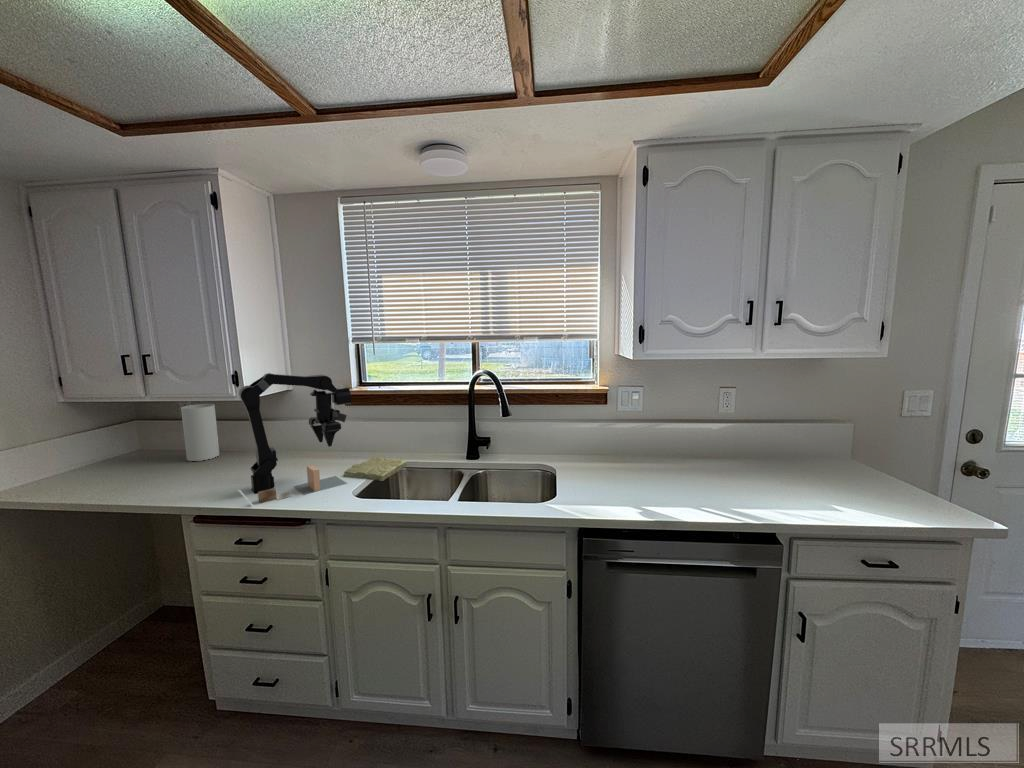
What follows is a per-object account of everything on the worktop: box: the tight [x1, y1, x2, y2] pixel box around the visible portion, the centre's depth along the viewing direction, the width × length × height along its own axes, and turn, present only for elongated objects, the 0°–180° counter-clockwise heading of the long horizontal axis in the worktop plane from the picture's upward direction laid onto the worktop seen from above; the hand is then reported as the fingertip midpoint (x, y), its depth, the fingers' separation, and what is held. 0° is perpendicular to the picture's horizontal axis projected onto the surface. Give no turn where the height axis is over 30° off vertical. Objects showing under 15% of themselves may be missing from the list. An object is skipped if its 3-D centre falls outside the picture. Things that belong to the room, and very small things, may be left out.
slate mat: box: [292, 475, 348, 496], centre depth 158 cm, size 16×12×1 cm
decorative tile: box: [343, 457, 408, 482], centre depth 175 cm, size 19×20×4 cm
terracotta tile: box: [306, 464, 321, 492], centre depth 154 cm, size 2×7×8 cm, turn 44°
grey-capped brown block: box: [257, 487, 294, 504], centre depth 146 cm, size 10×5×4 cm, turn 134°
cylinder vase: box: [180, 403, 220, 462], centre depth 194 cm, size 12×12×25 cm
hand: (325, 444), depth 167 cm, fingers open, 9 cm apart
